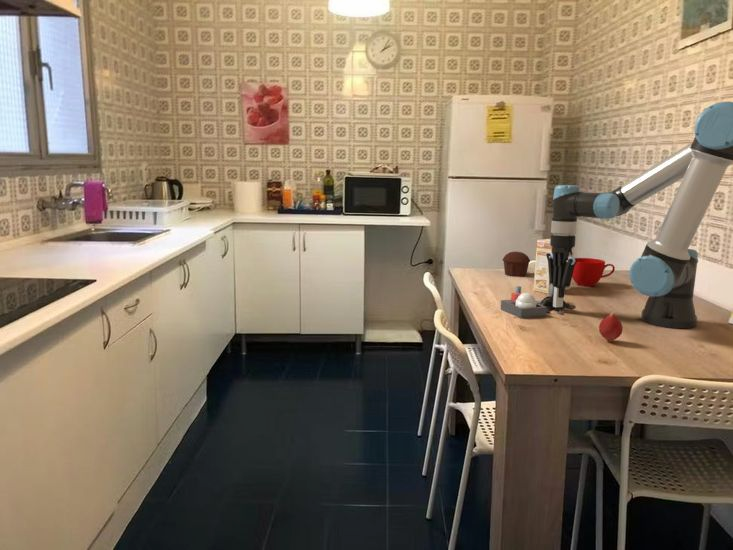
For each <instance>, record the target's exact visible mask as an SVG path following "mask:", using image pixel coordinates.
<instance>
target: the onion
mask: <svg viewBox="0 0 733 550" xmlns="http://www.w3.org/2000/svg"><path fill="white" fill-rule="evenodd" d="M598 330H599V334H600V335H601V336H602V337H603V338H604V340H606V341H607V342H609V343H612V342H614V341H615V340H616V339H618V338H619V337H621V335H622V334H623V324H622V322H621V321H620V320H619V319H618V317H616V315H615V312H612V313H610V314H609V315H607V316H606V317H604V318H603V319H602V320H601V321H600V323H599V327H598Z"/></svg>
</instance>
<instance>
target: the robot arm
mask: <svg viewBox="0 0 733 550" xmlns="http://www.w3.org/2000/svg"><path fill="white" fill-rule="evenodd" d="M693 132H694V136H695V137H694V138H693V141H692V142H690V143H689V144H687V145H685V146H683V147H682V148H681V149H679V150H677V151H676V152H674V153H672V154H671V155H669V156H668V157H665V158H664V159H662V160H661V161H659V162H657V163H656V164H654V165H652V166H651V167H650V168H649V167H648V169H646V170H644V171H643V172H641V173H640V174H638V175H636V176H635V177H633V178H631V179H630V180H628V181H626V182H625V183H623V184H622V185H621V186H618V187H617V188H615V189H614V190H612V191H610V192H609V191H608V192H606V191H605V192H583V191H580V186H578V185H573V184H572V185H570V184H560V185H558V184H557V185H555V187H554V190H553V191H554V192H553V198H552V217H551V225H550V233H552V234H550V238H549V239H550V245H551V246H552V247H553V248H552V252H551V253H547V254H546V256H547V259H548V269H549V282H550V283H552V284H553V286H554V289H553V296H554V297H553V307H563V300H564V298H565V293H566V292H565V291H566V290H565V287H569V286H570V287H571V284H570V283H571V282H572V280H573V278H572V275H573V271H574V267H575V265H576V263H577V259H574V258H575V257H573V256H574V255H573V256H572V248H573V247H574V248H575V246H576V235H575V234H576V233H577V232H576V231H577V221H578V217H579V218H581V217H583V218H592V219H594V218H595V219H601V220H605V219H606V220H607V219H610V220H611V219H614V218H616V217H619V216H623V215H625V214H627V213H628V212H629V211H630V210H631V208H633V207H635V206H636V205H638V204H640V203H642V202H643V201H645V200H647V199H649V198H650V197H652V196H654V195H656V194H657V193H660V192H661V191H663V190H664V189H667V188H668V187H670V186H672V185H674V184H675V183H677V182H679V181H680V180H681V182H680V183H679V187H678V188H677V190H676V193H675V195H674V198H673V199H672V202H671V203H670V206H669V208H668V210H667V213H666V215H665V217H664V218H663V219H664V220H663V222H662V223H661V226H660V228H659V231H658V232H657V235H656V237H655V238H654V239H652V240H650V241H648V242H647V243H646V245H645V247H644V249H643V252H642V254H641V256H640V257H639V258H636V260H635V261H633V263H632V265H631V266H630V268H629V271H628V272H629V274H628V275H629V280H630V284H632V287H633V288H634V290H635V291H637V292H639V294H641V295H644V296H646V297H648V299H647V300H646V303H645V305H644V308H643V309H642V311H641V315H640V319H641V321H643V322H644V323H646V324H650V325H653V326H657V327H658V326H659V327H662V328H663V327H664V328H671V329H690V328H691V329H692V328H696V326H697V324H698V323H697V322H698V316H697V315H696V311H695V310H696V309H695V303H694V293H695V285H696V284H695V283H696V275H697V268H698V267H697V266H698V263H699V256H698V255H699V254H698V251H697V250H696V249H695V248H694V249H692V248H690V246H691V243H692V241H693V240H694V237H695V235H696V233H697V231H698V229H699V227H700V225H701V223H702V221H703V219H704V217H705V215H706V213H707V210H708V208H709V207H710V204H711V202H712V200H713V198H714V197H715V195H716V192H717V189H719V188H718V187H719V185H720V184H721V181H722V180H723V177H724V175H725V173H726V171H727V169H728V167H730V166H732V165H733V101H729V100H728V101H720V102H716V103H713V104H712V105H710V106H708V107H707V108H705V109H704V110H702V112H701V113H700V114H699V116H698V117H697V119H696V121H695V123H694V131H693ZM574 248H573V249H574Z"/></svg>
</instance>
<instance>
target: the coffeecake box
mask: <svg viewBox="0 0 733 550" xmlns="http://www.w3.org/2000/svg"><path fill="white" fill-rule="evenodd" d="M550 239H551V238H545V239H544V238H543V239H537V240H536V251H535V253H536V254H535V264H534V265H535V266H534V277H533V278H534V279H533V292H539V293H543V294H546V295H547V294H548V295H550V289H551V284H552V283H550V282H549V269H548V259H547V256H546V254H547V253H551V252H552V248H553V247H552V246H551V245H550ZM574 248H575V246H574V247H573V248H572V256H574ZM568 290H571V283H570V286H569V287H565V291H568Z"/></svg>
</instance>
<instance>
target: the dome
mask: <svg viewBox="0 0 733 550" xmlns="http://www.w3.org/2000/svg"><path fill="white" fill-rule="evenodd" d="M537 301H538V300H536V298H535V296H534V295H533V294H532V293H529V292H521V295H519V296H518V298H517V300H516V306H519V307H521V308H530V307H536V304H537Z"/></svg>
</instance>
